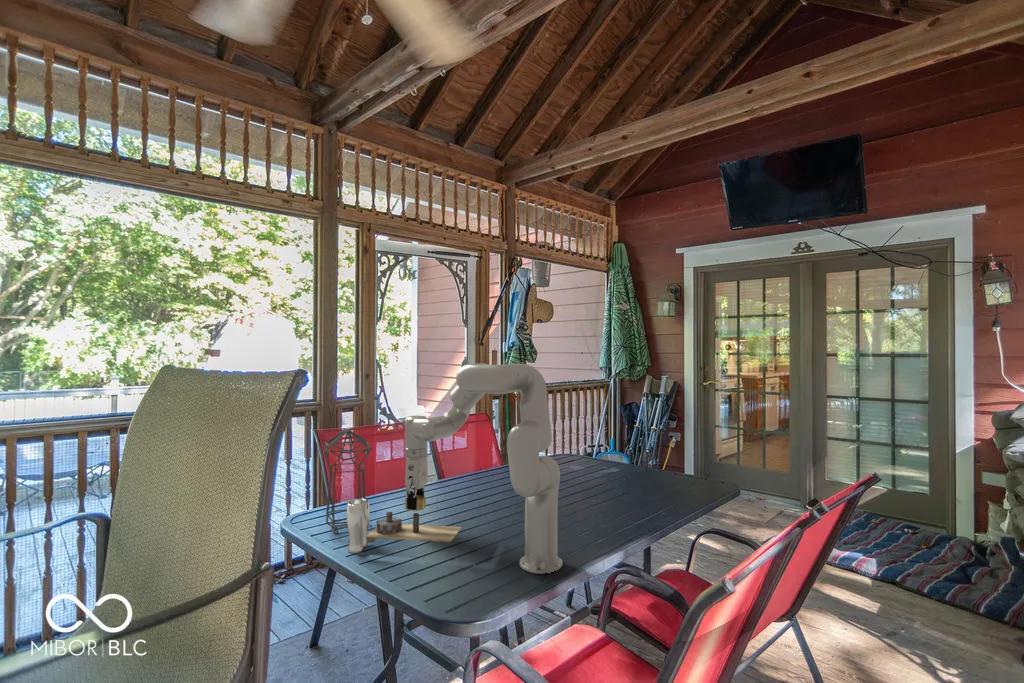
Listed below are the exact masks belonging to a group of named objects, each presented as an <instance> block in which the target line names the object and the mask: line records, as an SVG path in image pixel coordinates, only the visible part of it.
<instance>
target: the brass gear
mask: <svg viewBox="0 0 1024 683" xmlns="http://www.w3.org/2000/svg"><path fill="white" fill-rule="evenodd" d="M416 497H417V509H416V510H409V509H407V497H405V498H404V499H405V500H404V501H405V505H404V506H405V507H404V508H405V510H407V511H409V512H411V511H412V512H418V511H424V510H425V509H426V508H427V497H426V496H425V495H424V496H423V495H416Z"/></svg>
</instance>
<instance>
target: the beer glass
mask: <svg viewBox="0 0 1024 683" xmlns="http://www.w3.org/2000/svg"><path fill="white" fill-rule="evenodd" d="M346 506H347V507H346V509H347V511H346V518H347V520H346V522H347V523H346V524H347V525H346V527H348V528H347V532H348V537H349V538H348V539H349V540H348V547H347V552H348V553H350V554H354V555H355V554H361V553H362V552H364V550H366V549H367V548H368V546H369V545H368V542H367V535H368V530H369V526H370V524H369V523H370V516H371V515H370V514H371V513H370V500H369V499H363V498H361V499H358V498H357V499H355V498H354V499H351V500H349V501H348V502H347V505H346Z"/></svg>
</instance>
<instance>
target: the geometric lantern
mask: <svg viewBox="0 0 1024 683" xmlns="http://www.w3.org/2000/svg"><path fill="white" fill-rule="evenodd" d="M344 436H345V438H344V440H343V442H341V439H342V438H343V437H344ZM352 437H354V439H356V440H355V441H353V438H352ZM347 438H348V441H347ZM356 443H358V444H357V445H355V446H354V447H353V445H354V444H356ZM322 444H324V446H325V447H324V449H323V450H324V457H325V458H326V462H327V465H328V470H329V477H328V479H329V480H328V491H327V501H326V502H327V503H326V512H325V523H326V525H328V526H329V527H330V528H331V529H332V534H334V535H340V534H341V535H342V534H349V532H348V531H342V532H341V531H340V532H339V529H344V528H345V529H346V528H347V529H348V527H347V517H346V518H340V519H335V513H338V512H339V513H340V512H347V508H346V509H337V510H336V509H335V503H336V502H335V500H336V498H335V496H336V494H335V493H336V478H337V477H336V475H337V474H338V473H339V474H342V473H356V472H357V473H358V475H357V477H358V478H357V499H366V476H365V474H366V473H365V471H366V470H365V468H366V465H367V460H368V456H369V455H370V453H371V451H372V450H373V447H372V446H371V445H370V444H369V440H368V439H366V438H365V437H364V436H361V435H359V434H357V433H355V432H354V431H352V430H351V429H344V430H342V431H340V432H338V433H337V434H336V435H333V436H332V437H330V438H329V439H327V440H325V441H324V442H322ZM337 444H339V445H342V447H340V446H338V445H337ZM346 444H348V445H349V449H345V446H346ZM360 445H362V446H363V447H365V448H362V449H357V448H358V447H359V446H360ZM334 447H336V448H337V449H333V448H334ZM355 449H356V450H355ZM336 452H337V453H336ZM356 452H359V453H357V454H356ZM329 453H332V454H333V455H334V456H336V457H337V458H336V460H335V462H334V463H333V460H332V457H331V454H329ZM338 453H339V454H338ZM352 453H353V455H354V456H352ZM343 454H349V456H350V457H348V458H344V457H343ZM362 454H364V455H363V458H362V460H361V461H360V459H359V456H361V455H362ZM328 457H329V458H328ZM355 458H356V459H357V460H358V462H355V460H354V459H355ZM329 459H330V460H329ZM339 459H340V460H341V462H340V463H337V462H338V461H339ZM348 460H349V461H350V460H351V461H352V462H350V463H348V462H347V463H346V462H345V463H343V462H344V461H348ZM330 462H331V465H330ZM357 464H358V465H357ZM342 465H344V466H345V465H354V466H355V468H356V469H357V470H347V471H338V469H339V468H340V467H341V466H342ZM333 467H334V471H333ZM332 477H333V482H332ZM361 481H362V482H361ZM332 483H333V484H332ZM361 483H362V484H361ZM361 486H362V487H361ZM331 489H332V498H331ZM361 490H362V492H361ZM366 500H367V499H366ZM330 501H331V510H330ZM329 510H330V511H329ZM329 514H331V516H332V518H331V516H330V515H329ZM329 519H330V521H331V522H330V521H329Z"/></svg>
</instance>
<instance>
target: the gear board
mask: <svg viewBox="0 0 1024 683" xmlns="http://www.w3.org/2000/svg"><path fill="white" fill-rule="evenodd" d="M402 521H403V519H402V518H396V517H394V516H393V511H386V516H385V517H384V518H382V519H379V520H377V521H376V527H375V528H374V529H373V530H371V531H370V532H368V533H367V543H368V542H369V543H370V542H371V543H374V542H375V541H376V540H377V539H378V538H379V539H392V540H409V541H411V540H412V541H424V542H437V543H440V542H441V543H451V542H452V541H453V540H454V539H455V537H456V536H457V534H458V533H459V531H460V530H461V529H462V527H460V526H448V525H447V526H445V525H444V526H443V525H429V524H420V513H419V512H415V513H413V514H412V523H411V524H410V523H403V522H402Z"/></svg>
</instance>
